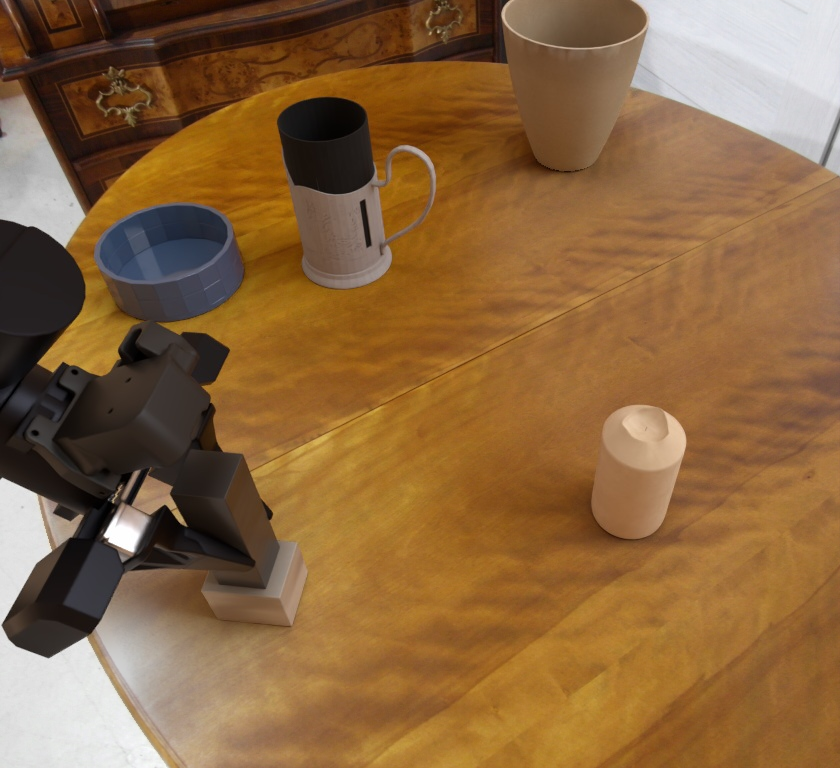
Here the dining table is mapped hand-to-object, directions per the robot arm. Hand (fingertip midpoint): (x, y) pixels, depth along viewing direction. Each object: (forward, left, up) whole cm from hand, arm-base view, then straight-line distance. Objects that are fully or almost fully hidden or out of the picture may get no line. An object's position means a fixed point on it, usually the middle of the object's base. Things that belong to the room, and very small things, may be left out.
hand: (260, 542), depth 47 cm
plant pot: (+20, +56, -7) cm, 60 cm away
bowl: (-17, +32, -7) cm, 37 cm away
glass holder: (+1, +35, -7) cm, 36 cm away
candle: (+24, +8, -7) cm, 26 cm away
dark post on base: (-1, 0, -7) cm, 7 cm away
